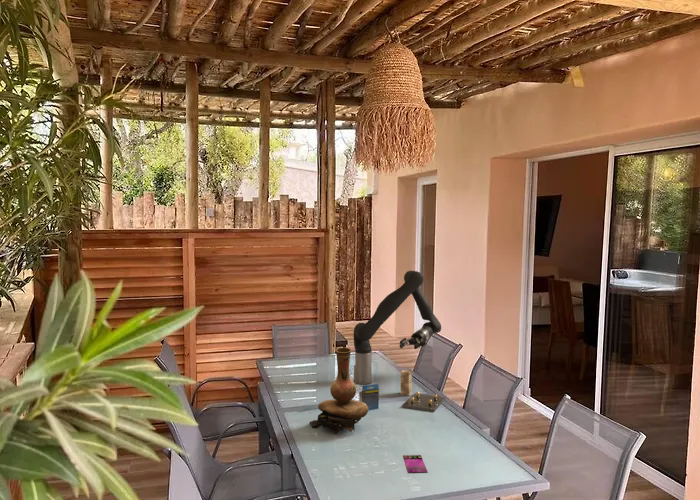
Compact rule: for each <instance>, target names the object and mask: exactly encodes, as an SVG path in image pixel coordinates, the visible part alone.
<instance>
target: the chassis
mask: <svg viewBox="0 0 700 500" xmlns="http://www.w3.org/2000/svg"><path fill="white" fill-rule="evenodd" d="M444 399H445V400H446V397H445V396H438V394H437V393H434V394H433V395H429V394H423V393H422V394H421V392H420V391H417V392H416V393H414V394H412V396H411V395H410V397H409V398H408V399H407V400H406V401H404V402H403V403H402V405H401V408H403V409H411V410H417V411H426V412H433V413H434V412H436V411H437V409H438V408H439V407H440V406H441V405H442V404H443V403H444V401H445V400H444ZM443 400H444V401H443ZM442 402H443V403H442ZM441 403H442V404H441Z"/></svg>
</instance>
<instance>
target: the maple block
mask: <svg viewBox="0 0 700 500" xmlns="http://www.w3.org/2000/svg"><path fill="white" fill-rule="evenodd" d="M412 377H413V376H412V370H406V369H402V370H401V371H400V396H407V395H409V396H411V394H413V393H412V391H413V390H412V389H413V388H412V387H413V384H412V383H413V382H412V380H413V378H412Z"/></svg>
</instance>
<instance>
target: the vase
mask: <svg viewBox="0 0 700 500" xmlns="http://www.w3.org/2000/svg"><path fill="white" fill-rule="evenodd" d="M351 353H352V349H351V348H349V347H337V348H336V349H335V355H336V365H337V374H336V375H337V377H336V379H335V380H334V381H333V382H332V383H331V385H330V389H329V391H330V396H331V397H332V398H333V399H328V400H327V399H326V400H324V401H321V402H319V404H318V405H317V408H318V410H319V411H320V413H319V414H318V415H317V420H316V419H315V420H314V419H313V420H311V421H309V424H311V429H318V428H320V427H322V428H325V429H328V430H330V431H332V433H333V434H334V433H335V434H339V433H340V431H341V430H340V427H341V429H342V430H347V431H349V432H350V433H352V432H353V431H355V427H356V424H359V422H360V421H361V420H362V418H364V417H366V416H367V414H368V412H369V410H368V406H367V405H366V404H365V403H363V402H359V400H356V399H355V400H354V398H355V396H356V394H357V386H356V383H355V382H354V380H352V379H351V377H350V361H351Z"/></svg>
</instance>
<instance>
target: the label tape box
mask: <svg viewBox="0 0 700 500" xmlns="http://www.w3.org/2000/svg"><path fill="white" fill-rule="evenodd" d="M379 385H380V384H379V383H375V384H372V383H371V384H361V391H359V393H358V395H359V396H358V398H359V399H358V401H359V402H363V403H365V404H366V405H367V406H368V411H370V410H376V409H379V408H380V407H379V406H380V405H379V400H380V399H379V397H380V392H379V391H380V389H379V387H380V386H379ZM370 387H371V388H370Z"/></svg>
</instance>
